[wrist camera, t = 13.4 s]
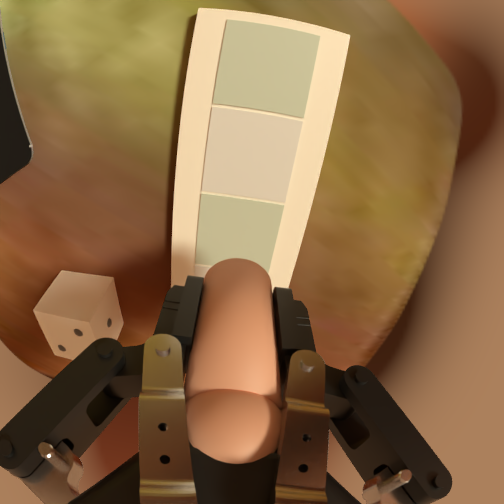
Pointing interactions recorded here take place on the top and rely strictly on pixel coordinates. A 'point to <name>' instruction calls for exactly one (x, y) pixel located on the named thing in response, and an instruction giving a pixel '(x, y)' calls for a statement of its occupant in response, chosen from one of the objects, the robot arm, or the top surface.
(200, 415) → the pawn
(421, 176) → the top surface
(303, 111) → the board
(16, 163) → the smartphone
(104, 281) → the die
